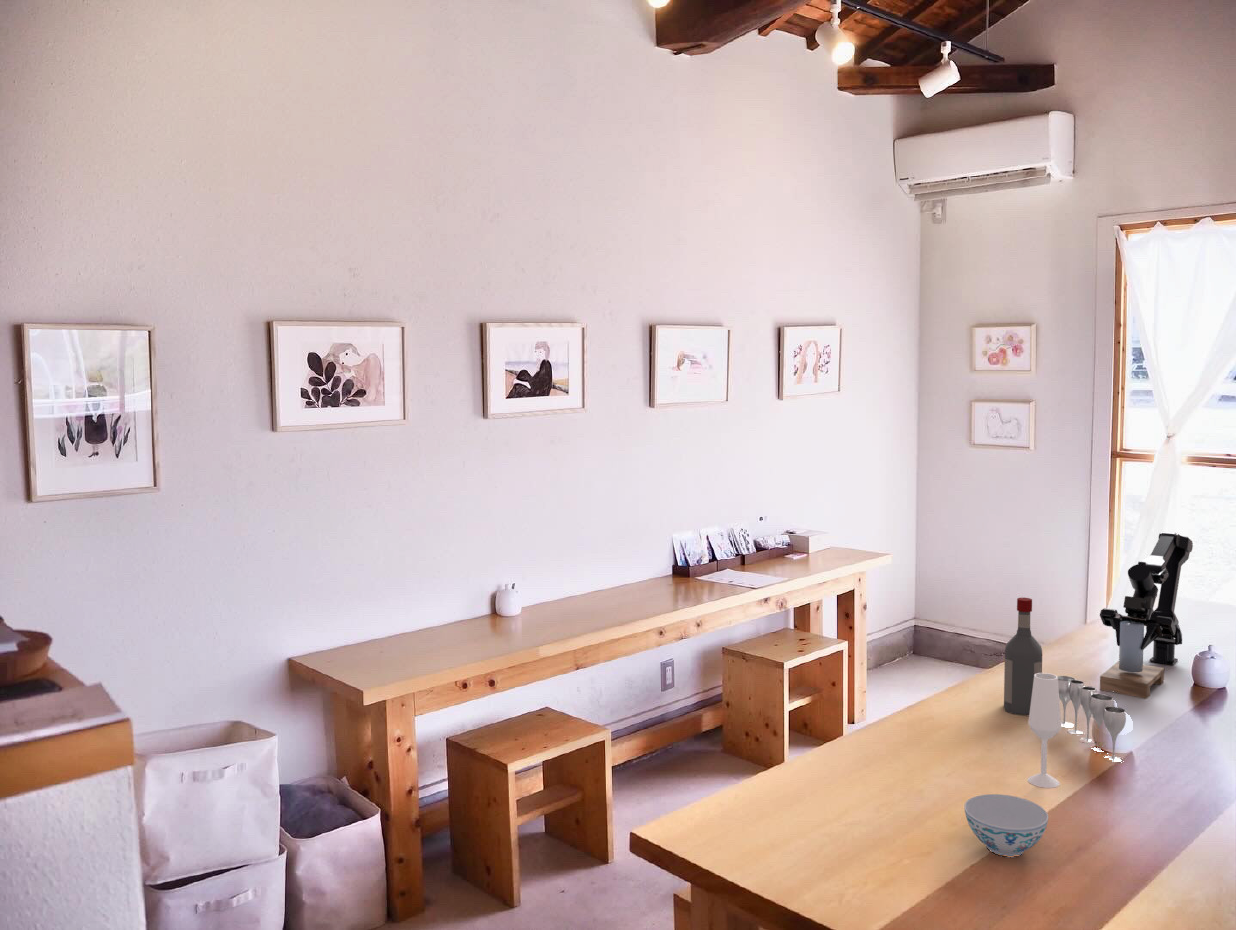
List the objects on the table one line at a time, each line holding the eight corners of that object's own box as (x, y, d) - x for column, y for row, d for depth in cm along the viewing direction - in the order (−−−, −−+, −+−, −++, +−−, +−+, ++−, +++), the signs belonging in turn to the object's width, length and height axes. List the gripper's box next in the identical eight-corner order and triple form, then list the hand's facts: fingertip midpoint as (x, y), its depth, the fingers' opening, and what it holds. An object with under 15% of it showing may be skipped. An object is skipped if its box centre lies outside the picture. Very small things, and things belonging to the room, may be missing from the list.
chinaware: (951, 833, 203) (951, 796, 202) (1023, 829, 204) (1024, 792, 203) (984, 871, 188) (985, 831, 187) (1062, 866, 189) (1063, 826, 189)
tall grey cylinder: (1116, 665, 290) (1117, 620, 289) (1139, 666, 289) (1140, 621, 288) (1121, 671, 285) (1123, 626, 283) (1145, 672, 283) (1146, 627, 282)
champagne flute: (1058, 777, 228) (1061, 672, 226) (1061, 789, 222) (1063, 682, 220) (1026, 774, 231) (1028, 670, 228) (1027, 786, 224) (1030, 679, 222)
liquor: (1003, 713, 269) (1005, 601, 266) (1004, 702, 278) (1006, 594, 274) (1041, 717, 266) (1043, 604, 263) (1040, 706, 274) (1043, 596, 271)
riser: (1118, 674, 300) (1118, 660, 299) (1163, 681, 292) (1164, 668, 291) (1099, 689, 286) (1100, 676, 286) (1146, 698, 278) (1147, 684, 278)
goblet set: (1130, 762, 236) (1132, 707, 234) (1106, 764, 235) (1108, 708, 234) (1069, 720, 264) (1070, 670, 262) (1047, 721, 263) (1048, 671, 262)
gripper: (1102, 580, 294) (1088, 626, 287) (1174, 589, 281) (1160, 637, 274) (1111, 602, 300) (1097, 647, 293) (1181, 611, 287) (1168, 659, 281)
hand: (1129, 647), depth 285 cm, fingers closed on tall grey cylinder, 6 cm apart
